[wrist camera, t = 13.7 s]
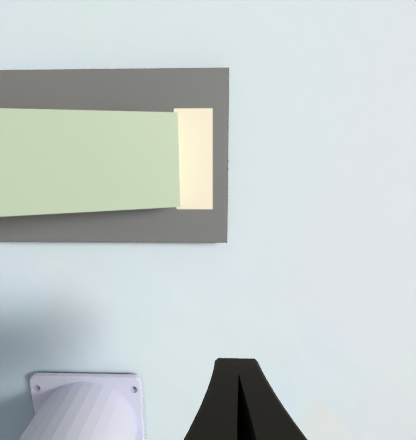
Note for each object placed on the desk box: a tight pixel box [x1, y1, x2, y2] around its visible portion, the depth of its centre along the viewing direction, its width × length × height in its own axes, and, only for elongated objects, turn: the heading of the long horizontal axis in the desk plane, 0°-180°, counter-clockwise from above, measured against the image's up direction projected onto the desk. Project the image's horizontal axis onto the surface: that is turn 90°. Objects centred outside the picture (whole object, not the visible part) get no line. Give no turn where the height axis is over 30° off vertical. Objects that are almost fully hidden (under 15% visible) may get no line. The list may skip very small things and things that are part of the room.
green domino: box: [0, 108, 180, 217], centre depth 16 cm, size 2×5×10 cm
